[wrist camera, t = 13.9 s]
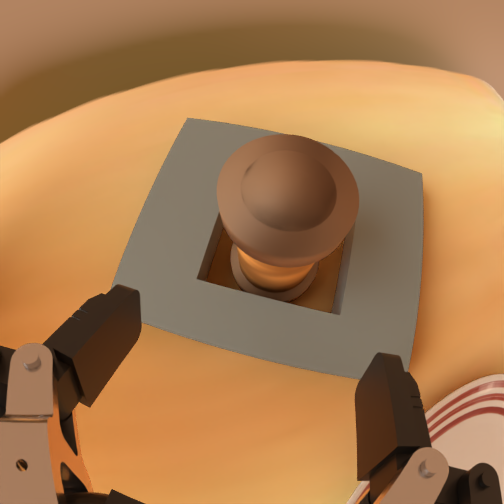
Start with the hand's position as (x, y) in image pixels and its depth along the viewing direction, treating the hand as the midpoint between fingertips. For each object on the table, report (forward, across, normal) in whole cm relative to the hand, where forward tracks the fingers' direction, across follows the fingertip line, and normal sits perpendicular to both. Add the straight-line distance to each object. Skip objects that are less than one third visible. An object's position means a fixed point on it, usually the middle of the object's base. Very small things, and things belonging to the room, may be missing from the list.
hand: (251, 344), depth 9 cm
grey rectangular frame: (+15, 0, +3) cm, 15 cm away
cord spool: (+14, 0, +4) cm, 15 cm away
